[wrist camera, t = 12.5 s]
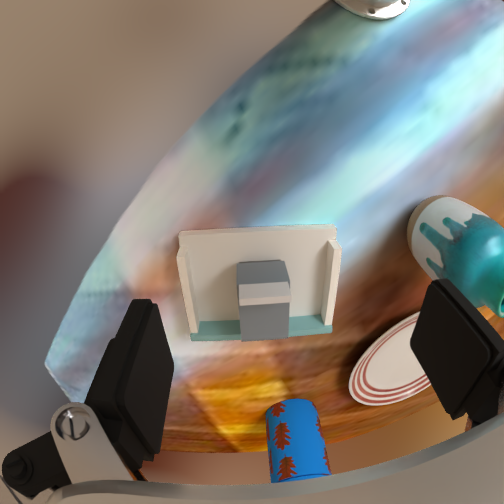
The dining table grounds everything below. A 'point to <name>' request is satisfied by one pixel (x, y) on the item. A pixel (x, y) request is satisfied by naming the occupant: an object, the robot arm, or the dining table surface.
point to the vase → (460, 249)
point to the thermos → (295, 442)
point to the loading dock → (258, 249)
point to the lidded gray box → (263, 299)
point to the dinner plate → (389, 368)
